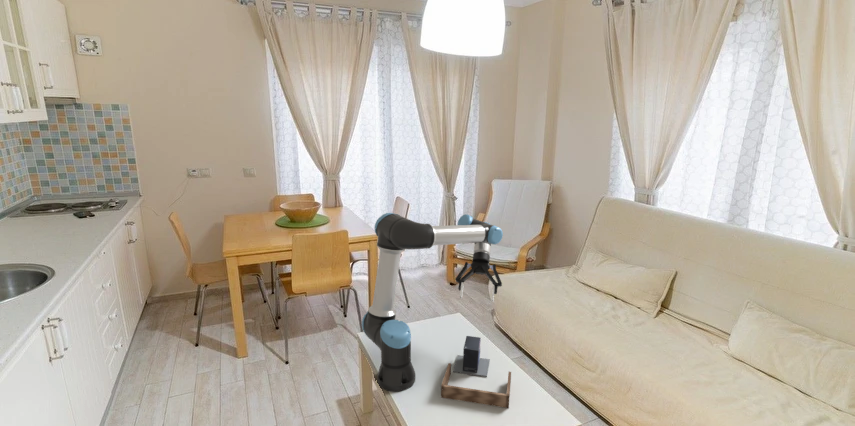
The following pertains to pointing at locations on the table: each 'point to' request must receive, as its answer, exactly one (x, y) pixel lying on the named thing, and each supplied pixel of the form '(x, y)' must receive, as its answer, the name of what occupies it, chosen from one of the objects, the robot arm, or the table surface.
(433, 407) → the table surface
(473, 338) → the small box
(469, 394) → the walnut bay
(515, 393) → the table surface
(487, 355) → the table surface
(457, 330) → the table surface
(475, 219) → the robot arm
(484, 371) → the rubber mat
